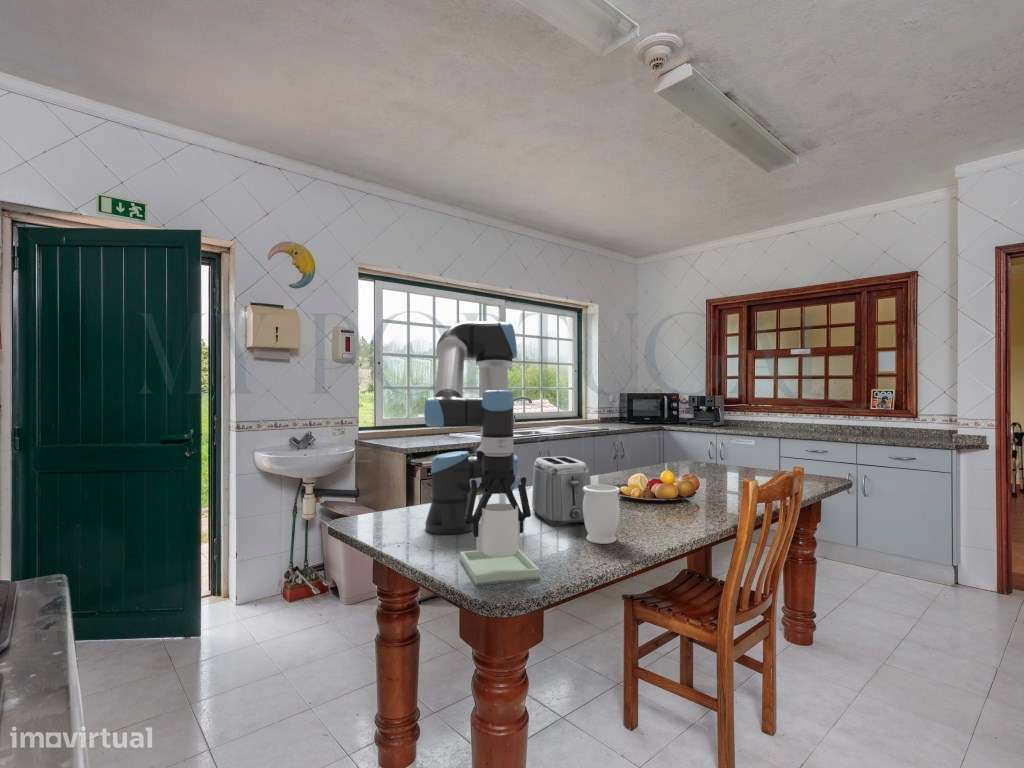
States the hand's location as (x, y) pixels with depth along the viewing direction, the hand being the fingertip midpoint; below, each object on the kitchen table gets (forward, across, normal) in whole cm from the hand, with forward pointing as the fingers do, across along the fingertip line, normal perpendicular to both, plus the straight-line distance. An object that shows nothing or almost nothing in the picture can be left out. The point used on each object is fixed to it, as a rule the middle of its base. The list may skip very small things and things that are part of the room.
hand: (498, 548), depth 130 cm
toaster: (+5, +34, +44) cm, 56 cm away
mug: (+1, 0, 0) cm, 1 cm away
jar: (+5, +34, +15) cm, 38 cm away
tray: (+5, 0, 0) cm, 5 cm away
